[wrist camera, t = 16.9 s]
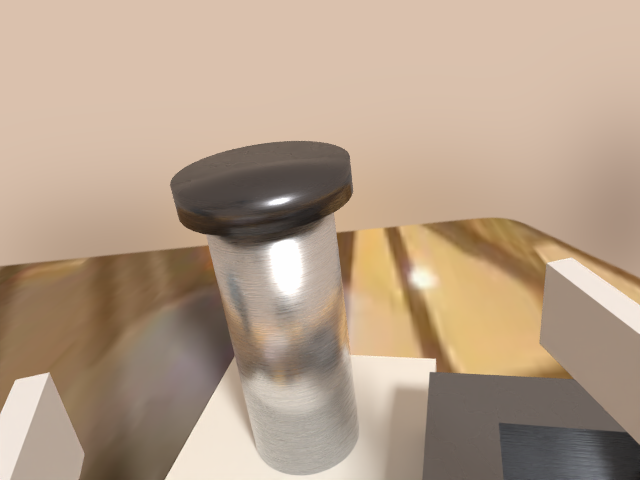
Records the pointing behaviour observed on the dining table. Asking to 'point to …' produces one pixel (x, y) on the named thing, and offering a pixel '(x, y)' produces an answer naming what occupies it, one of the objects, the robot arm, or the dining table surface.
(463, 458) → the housing
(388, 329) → the dining table surface
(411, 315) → the dining table surface
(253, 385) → the flanged shaft
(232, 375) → the pad
